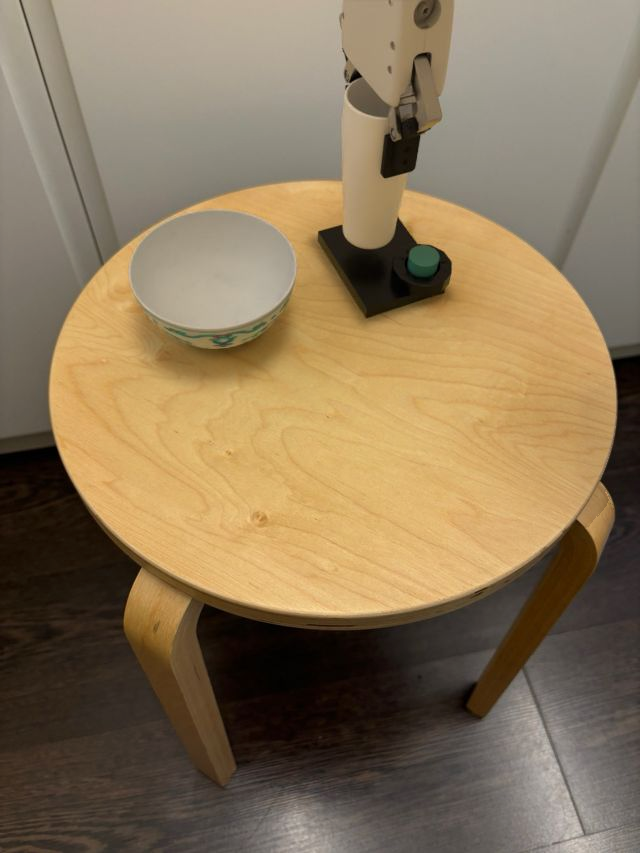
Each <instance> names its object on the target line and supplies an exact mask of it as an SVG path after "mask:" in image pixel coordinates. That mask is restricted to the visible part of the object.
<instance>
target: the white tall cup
mask: <svg viewBox="0 0 640 853" xmlns="http://www.w3.org/2000/svg"><path fill="white" fill-rule="evenodd" d="M347 85H348V87H347V88H346V90H345V89H344V93H343V101H342V102H343V103H342V110H341V111H342V112H341V123H340V124H341V125H340V157H341V158H340V159H341V186H342V188H341V189H342V224H343V225H342V224H341V225H342V229H343V234H344V236H345V238H346V239H347V240H348V241H349V242H350V243H351V244H353V245H354V246H356V247H359V248H363V249H377V248H381V247H383V246H385V245H387V244H388V243H389V242H390V241H391V240H392V238H393V237H394V234H395V229H396V223H397V218H399V214H400V209H401V205H402V201H403V197H404V193H405V190H406V186H407V183H408V178H409V174H410V172H408V173H405V174H401V175H397V176H394V177H390V178H386V179H385V178H383V176H382V175H381V174H380V171H381V162H382V153H383V145H384V136H385V135H387V134H389V133H390V130H389V120H388V110H387V103H386V102H384V101H383V100H382V99H381V98H380V97H379V96H378V94H377V93H376V92H375V91H374V90H373V89H372V87H371V86H370V85H369V84H368V83H367V81H366V80H365V79H364V78H363V77H361V78H358V79H356V80H355V81H353V82H352V83H348V84H347ZM409 93H412V85H411V86H408V88H407V89H406V91H405V93H404V94H401V95H405V94H409ZM399 107H400V116H401V122H403V121H405V120H406V119H408V118H411V117H413V115H412V104H408V105H403V106H399Z"/></svg>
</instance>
